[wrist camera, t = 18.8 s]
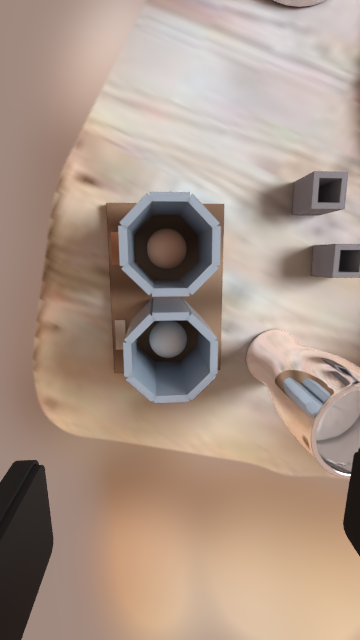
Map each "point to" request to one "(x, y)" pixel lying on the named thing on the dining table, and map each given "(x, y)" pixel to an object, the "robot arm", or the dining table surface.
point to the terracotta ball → (166, 248)
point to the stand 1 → (319, 193)
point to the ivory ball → (168, 339)
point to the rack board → (133, 298)
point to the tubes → (170, 301)
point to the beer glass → (311, 396)
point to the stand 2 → (336, 261)
